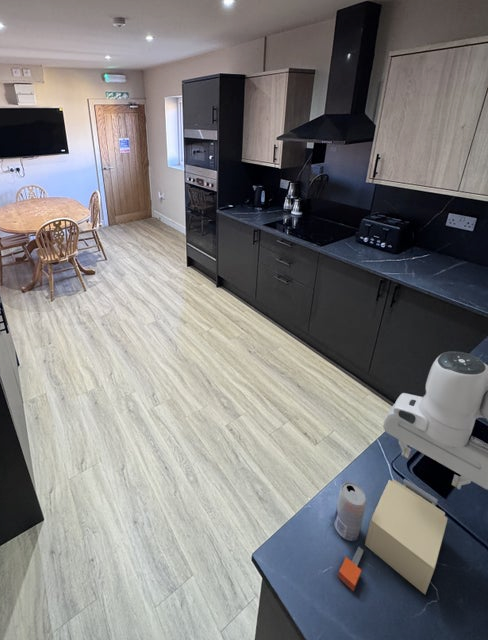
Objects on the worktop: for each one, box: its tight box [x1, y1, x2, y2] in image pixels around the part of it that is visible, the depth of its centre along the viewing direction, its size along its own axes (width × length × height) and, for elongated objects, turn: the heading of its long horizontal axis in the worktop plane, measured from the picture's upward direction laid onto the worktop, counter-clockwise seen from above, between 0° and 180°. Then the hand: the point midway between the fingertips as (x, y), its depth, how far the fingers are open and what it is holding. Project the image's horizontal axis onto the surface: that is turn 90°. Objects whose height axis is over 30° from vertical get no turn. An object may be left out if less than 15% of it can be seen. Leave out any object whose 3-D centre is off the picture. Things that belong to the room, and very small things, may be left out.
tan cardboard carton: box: [364, 479, 449, 595], centre depth 72 cm, size 13×12×9 cm
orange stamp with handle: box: [337, 546, 365, 592], centre depth 70 cm, size 8×3×2 cm, turn 133°
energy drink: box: [333, 481, 367, 542], centre depth 75 cm, size 5×5×12 cm
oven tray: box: [391, 478, 446, 517], centre depth 75 cm, size 16×10×7 cm, turn 133°
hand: (429, 469), depth 73 cm, fingers open, 8 cm apart
